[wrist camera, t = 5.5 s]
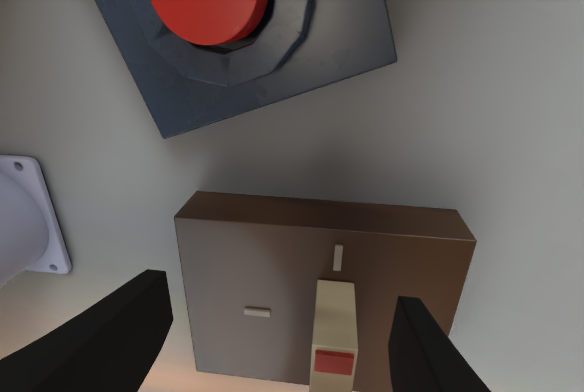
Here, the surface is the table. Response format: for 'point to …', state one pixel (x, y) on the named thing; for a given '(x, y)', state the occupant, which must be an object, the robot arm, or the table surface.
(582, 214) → the table surface
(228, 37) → the button
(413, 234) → the panel
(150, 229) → the table surface
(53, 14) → the table surface
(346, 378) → the cream block red label
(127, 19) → the button box
